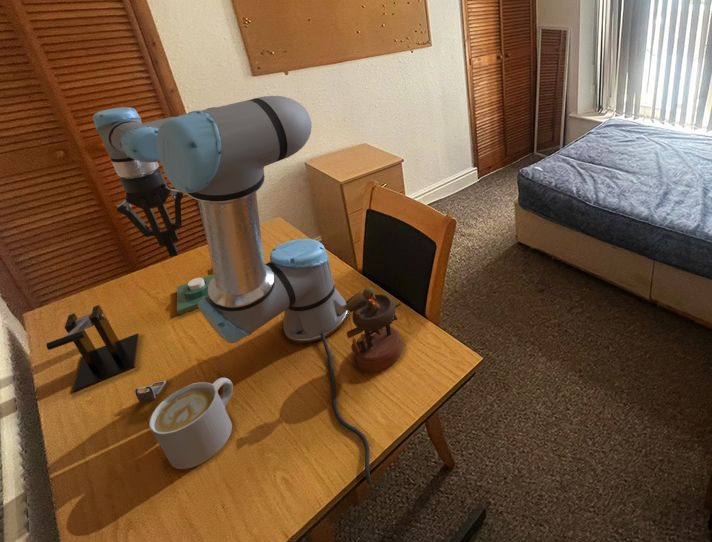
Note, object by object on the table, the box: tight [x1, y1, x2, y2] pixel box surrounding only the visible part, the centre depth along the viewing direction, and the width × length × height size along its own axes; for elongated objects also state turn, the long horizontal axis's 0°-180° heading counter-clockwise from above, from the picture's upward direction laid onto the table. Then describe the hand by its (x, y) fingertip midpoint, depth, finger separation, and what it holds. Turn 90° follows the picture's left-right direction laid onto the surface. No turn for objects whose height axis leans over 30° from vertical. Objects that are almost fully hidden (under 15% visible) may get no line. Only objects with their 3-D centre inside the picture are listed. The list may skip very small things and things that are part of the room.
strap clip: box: [134, 380, 167, 404], centre depth 85 cm, size 8×3×4 cm, turn 13°
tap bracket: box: [64, 304, 140, 393], centre depth 91 cm, size 12×10×15 cm
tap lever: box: [46, 312, 94, 351], centre depth 84 cm, size 14×5×2 cm, turn 37°
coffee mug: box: [148, 377, 234, 470], centre depth 77 cm, size 13×10×10 cm
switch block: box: [176, 273, 214, 316], centre depth 114 cm, size 12×10×4 cm
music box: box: [336, 287, 403, 373], centre depth 93 cm, size 15×11×20 cm
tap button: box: [187, 277, 205, 291], centre depth 113 cm, size 4×4×2 cm
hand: (174, 253), depth 105 cm, fingers closed
